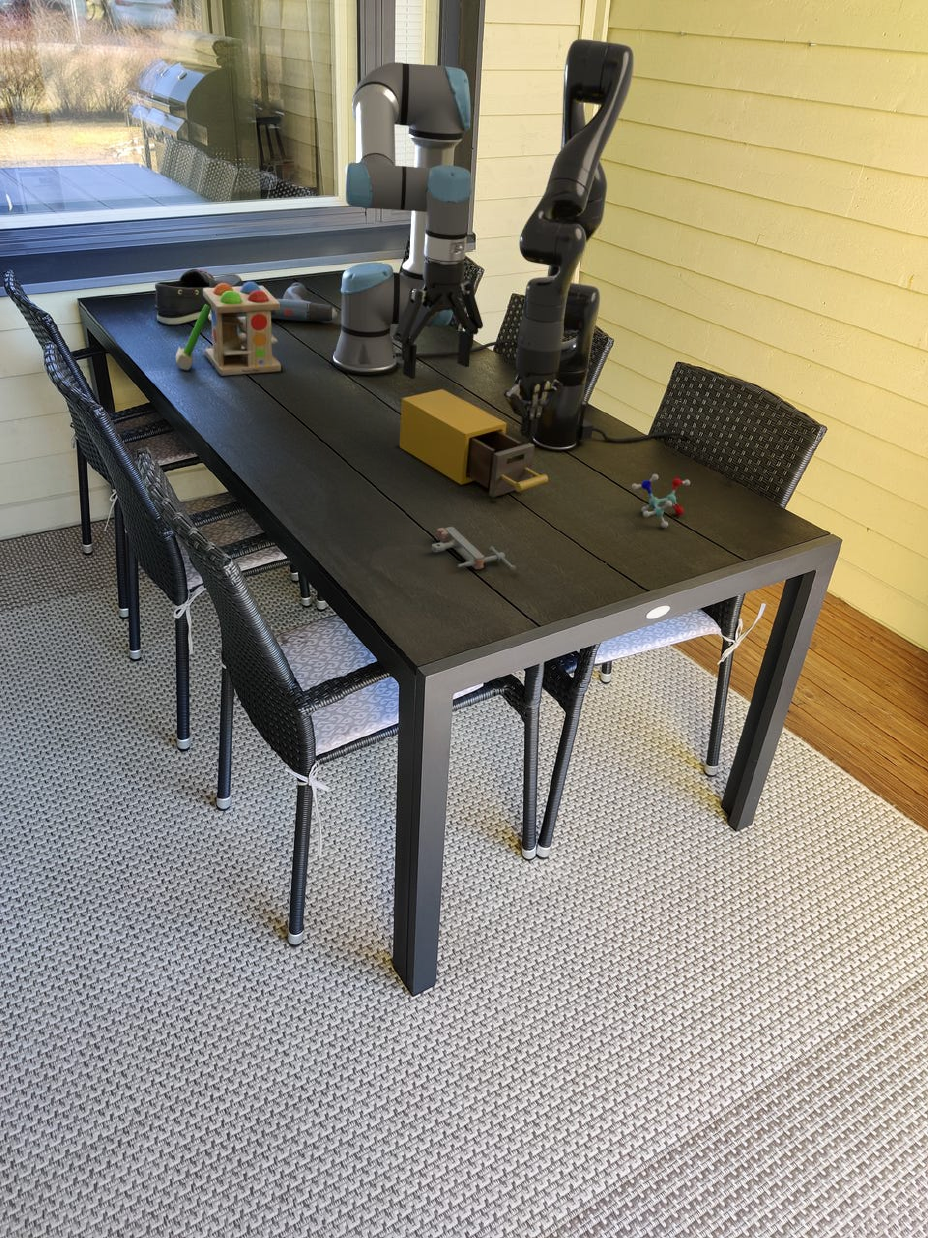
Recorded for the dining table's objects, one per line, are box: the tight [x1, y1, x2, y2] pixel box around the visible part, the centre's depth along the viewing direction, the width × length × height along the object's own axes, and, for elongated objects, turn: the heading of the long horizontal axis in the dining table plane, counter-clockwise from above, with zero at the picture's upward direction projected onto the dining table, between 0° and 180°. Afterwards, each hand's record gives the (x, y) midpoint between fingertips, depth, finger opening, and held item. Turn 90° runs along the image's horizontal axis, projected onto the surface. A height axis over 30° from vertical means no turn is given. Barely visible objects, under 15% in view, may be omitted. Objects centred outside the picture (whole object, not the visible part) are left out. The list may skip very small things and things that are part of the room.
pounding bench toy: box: [174, 281, 282, 377], centre depth 225 cm, size 23×14×18 cm, turn 116°
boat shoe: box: [154, 268, 245, 325], centre depth 260 cm, size 13×33×10 cm, turn 147°
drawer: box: [466, 430, 549, 498], centre depth 188 cm, size 24×9×8 cm, turn 40°
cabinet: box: [399, 388, 508, 486], centre depth 195 cm, size 20×10×10 cm, turn 40°
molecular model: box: [631, 473, 691, 529], centre depth 183 cm, size 12×10×10 cm
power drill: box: [271, 282, 338, 322], centre depth 265 cm, size 5×19×20 cm
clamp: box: [431, 526, 517, 572], centre depth 165 cm, size 15×2×10 cm
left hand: (436, 370), depth 192 cm, fingers open, 13 cm apart
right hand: (527, 435), depth 178 cm, fingers closed
